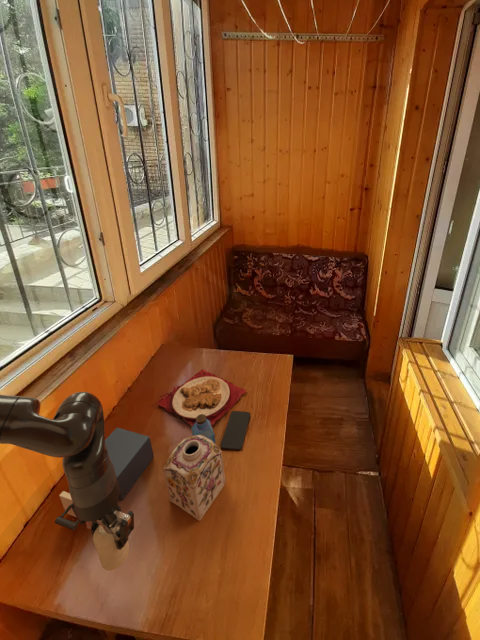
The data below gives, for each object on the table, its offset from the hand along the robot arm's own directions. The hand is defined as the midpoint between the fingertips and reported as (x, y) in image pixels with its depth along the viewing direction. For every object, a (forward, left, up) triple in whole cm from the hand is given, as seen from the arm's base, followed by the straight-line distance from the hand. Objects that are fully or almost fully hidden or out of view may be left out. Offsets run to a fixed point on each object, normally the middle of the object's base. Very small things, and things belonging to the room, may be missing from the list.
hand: (111, 539), depth 67 cm
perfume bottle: (+36, 0, -16) cm, 39 cm away
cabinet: (+21, +20, -16) cm, 33 cm away
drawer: (+11, +20, -15) cm, 27 cm away
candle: (0, 0, -6) cm, 6 cm away
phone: (+44, -8, -16) cm, 47 cm away
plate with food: (+54, +11, -16) cm, 57 cm away
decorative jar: (+22, -6, -16) cm, 28 cm away
